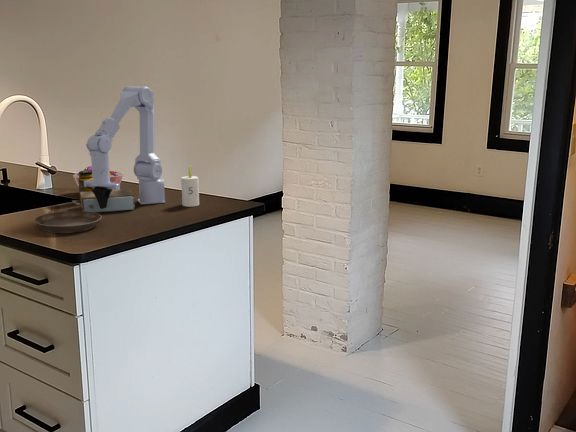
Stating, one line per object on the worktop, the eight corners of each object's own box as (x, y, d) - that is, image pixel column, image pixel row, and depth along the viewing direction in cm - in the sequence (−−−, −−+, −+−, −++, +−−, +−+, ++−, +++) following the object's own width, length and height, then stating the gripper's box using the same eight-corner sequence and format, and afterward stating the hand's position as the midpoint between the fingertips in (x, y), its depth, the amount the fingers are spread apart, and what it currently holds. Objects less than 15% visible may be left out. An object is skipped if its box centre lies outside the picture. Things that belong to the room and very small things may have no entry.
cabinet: (130, 203, 232) (130, 188, 231) (134, 209, 222) (133, 194, 221) (81, 206, 226) (80, 192, 225) (82, 213, 216) (81, 198, 215)
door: (134, 208, 222) (133, 196, 221) (135, 209, 220) (134, 197, 219) (84, 212, 216) (83, 199, 215) (84, 213, 214) (83, 200, 213)
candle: (182, 207, 227) (181, 167, 223) (182, 203, 233) (180, 164, 229) (199, 206, 228) (198, 166, 224) (198, 202, 234) (197, 164, 231)
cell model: (113, 199, 239) (111, 171, 236) (66, 197, 242) (63, 169, 240) (131, 190, 255) (129, 164, 252) (86, 189, 258) (84, 162, 256)
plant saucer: (101, 217, 212) (100, 208, 211) (103, 232, 193) (102, 222, 192) (37, 222, 205) (36, 212, 204) (33, 238, 186) (32, 227, 185)
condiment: (99, 202, 233) (97, 171, 230) (77, 205, 229) (74, 173, 226) (94, 199, 239) (91, 169, 236) (72, 201, 235) (69, 170, 232)
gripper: (76, 170, 211) (79, 208, 214) (109, 173, 205) (111, 212, 208) (90, 167, 217) (93, 204, 220) (123, 170, 211) (125, 208, 214)
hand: (103, 208), depth 215 cm, fingers closed
